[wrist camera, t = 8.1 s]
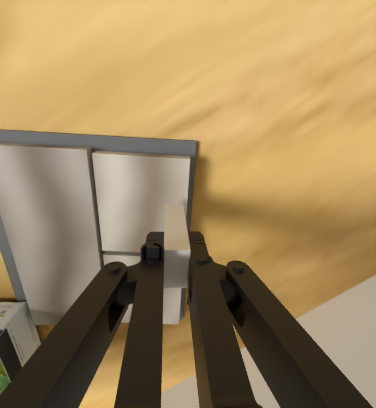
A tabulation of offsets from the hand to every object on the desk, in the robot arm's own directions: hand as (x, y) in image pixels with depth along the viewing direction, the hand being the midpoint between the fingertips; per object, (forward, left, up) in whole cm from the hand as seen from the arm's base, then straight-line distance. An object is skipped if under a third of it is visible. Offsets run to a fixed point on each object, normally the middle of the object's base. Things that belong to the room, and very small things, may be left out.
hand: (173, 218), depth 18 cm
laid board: (-11, -5, -3) cm, 13 cm away
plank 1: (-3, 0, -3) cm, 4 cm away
